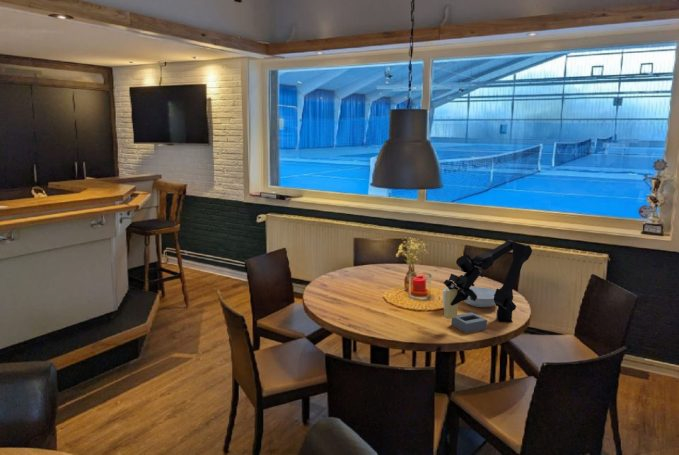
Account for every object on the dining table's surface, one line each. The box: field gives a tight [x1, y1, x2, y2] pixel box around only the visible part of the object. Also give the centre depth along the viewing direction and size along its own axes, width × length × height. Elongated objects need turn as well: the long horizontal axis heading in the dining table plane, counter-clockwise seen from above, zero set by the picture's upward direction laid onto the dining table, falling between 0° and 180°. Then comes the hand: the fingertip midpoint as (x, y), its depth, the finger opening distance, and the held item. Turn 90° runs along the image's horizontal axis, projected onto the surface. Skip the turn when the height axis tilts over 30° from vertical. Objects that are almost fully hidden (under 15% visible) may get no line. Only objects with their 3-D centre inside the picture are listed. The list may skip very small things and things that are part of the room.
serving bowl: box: [463, 286, 496, 308], centre depth 277 cm, size 21×21×7 cm
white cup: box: [442, 288, 449, 310], centre depth 269 cm, size 8×8×10 cm
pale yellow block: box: [443, 289, 459, 320], centre depth 239 cm, size 5×3×13 cm, turn 114°
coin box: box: [451, 311, 488, 334], centre depth 246 cm, size 12×11×4 cm
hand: (448, 304), depth 238 cm, fingers closed on pale yellow block, 3 cm apart
